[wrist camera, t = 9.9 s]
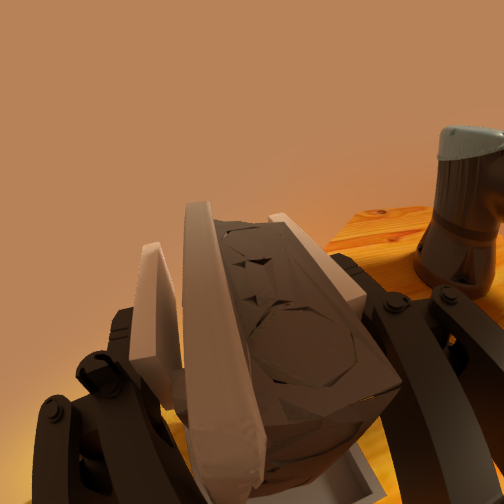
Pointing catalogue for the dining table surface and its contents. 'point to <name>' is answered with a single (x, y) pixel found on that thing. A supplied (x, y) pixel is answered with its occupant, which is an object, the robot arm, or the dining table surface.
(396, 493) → the dining table surface
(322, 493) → the box
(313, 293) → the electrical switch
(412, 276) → the dining table surface
